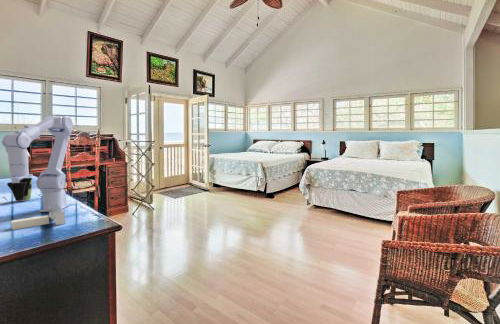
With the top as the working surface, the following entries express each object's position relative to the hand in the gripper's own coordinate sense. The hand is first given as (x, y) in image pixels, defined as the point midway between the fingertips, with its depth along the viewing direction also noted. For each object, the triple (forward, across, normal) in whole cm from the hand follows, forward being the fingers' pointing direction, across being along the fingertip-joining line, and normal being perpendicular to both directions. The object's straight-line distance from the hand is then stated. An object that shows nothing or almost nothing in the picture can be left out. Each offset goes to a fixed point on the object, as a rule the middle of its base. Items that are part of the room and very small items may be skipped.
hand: (21, 198), depth 107 cm
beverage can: (+10, +42, +7) cm, 44 cm away
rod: (+10, -8, -4) cm, 13 cm away
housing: (+9, -6, -11) cm, 16 cm away
